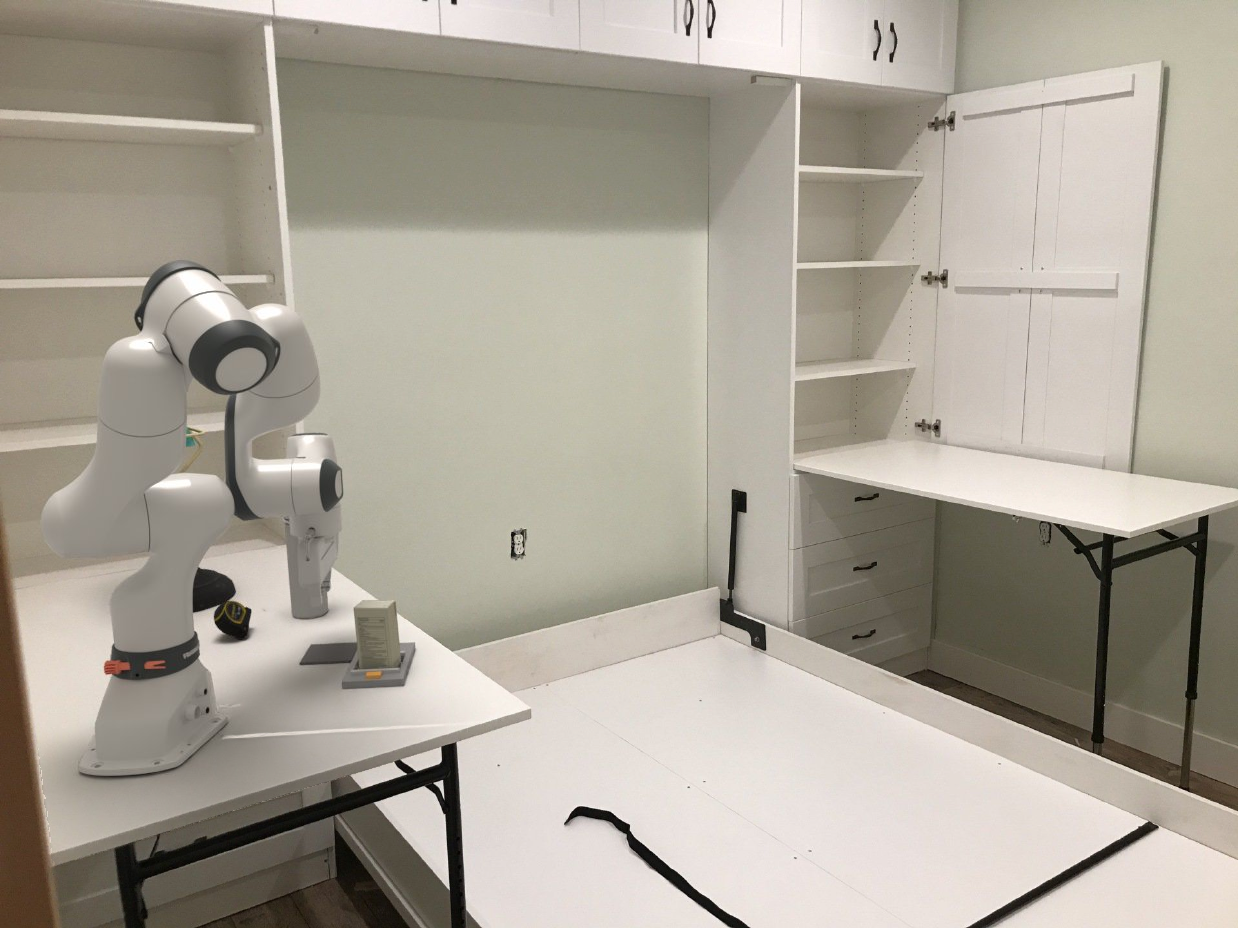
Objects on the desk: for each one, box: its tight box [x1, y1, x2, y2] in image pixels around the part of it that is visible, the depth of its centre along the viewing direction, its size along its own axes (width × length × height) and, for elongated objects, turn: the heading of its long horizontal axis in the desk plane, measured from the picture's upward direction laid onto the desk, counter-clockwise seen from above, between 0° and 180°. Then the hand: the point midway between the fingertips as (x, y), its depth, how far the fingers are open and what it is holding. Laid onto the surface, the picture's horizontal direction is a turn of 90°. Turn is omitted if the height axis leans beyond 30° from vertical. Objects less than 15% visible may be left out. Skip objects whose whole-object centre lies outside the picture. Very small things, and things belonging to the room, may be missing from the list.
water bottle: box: [282, 516, 329, 620], centre depth 196 cm, size 9×8×25 cm
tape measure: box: [213, 600, 253, 640], centre depth 187 cm, size 7×7×4 cm
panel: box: [341, 641, 416, 690], centre depth 171 cm, size 17×10×2 cm, turn 5°
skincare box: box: [353, 599, 402, 670], centre depth 169 cm, size 6×4×12 cm
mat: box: [299, 641, 357, 666], centre depth 178 cm, size 9×9×1 cm
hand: (321, 598), depth 176 cm, fingers open, 8 cm apart
